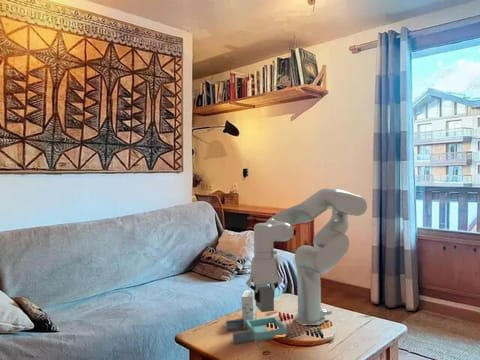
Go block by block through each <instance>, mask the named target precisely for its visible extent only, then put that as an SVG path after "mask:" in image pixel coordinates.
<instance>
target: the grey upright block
mask: <svg viewBox="0 0 480 360" xmlns="http://www.w3.org/2000/svg"><path fill="white" fill-rule="evenodd" d="M258 292H259V301H260V302H259V303H258V302H257V301H256V308H257V309H258V310H259V311H260V312H261V313H266V312H274V311H275V301H274V300H275V291H273V289H272V288H271V287H270V285H269V284H265V285H260V286H259V290H258Z"/></svg>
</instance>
